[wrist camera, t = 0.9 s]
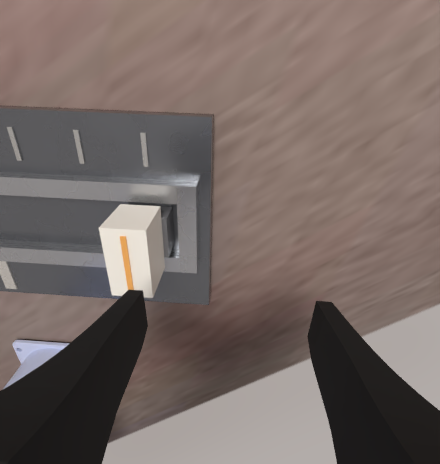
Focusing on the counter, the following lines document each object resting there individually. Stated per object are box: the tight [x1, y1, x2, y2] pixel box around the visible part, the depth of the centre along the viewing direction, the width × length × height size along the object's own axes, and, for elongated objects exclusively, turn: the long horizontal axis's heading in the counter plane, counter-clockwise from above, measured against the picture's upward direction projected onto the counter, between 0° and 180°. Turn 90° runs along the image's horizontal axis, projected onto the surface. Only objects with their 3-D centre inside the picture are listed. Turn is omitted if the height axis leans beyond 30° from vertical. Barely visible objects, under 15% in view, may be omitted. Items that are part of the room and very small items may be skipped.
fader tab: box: [99, 204, 174, 298], centre depth 18 cm, size 4×3×5 cm
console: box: [0, 106, 214, 305], centre depth 20 cm, size 14×22×2 cm, turn 88°
